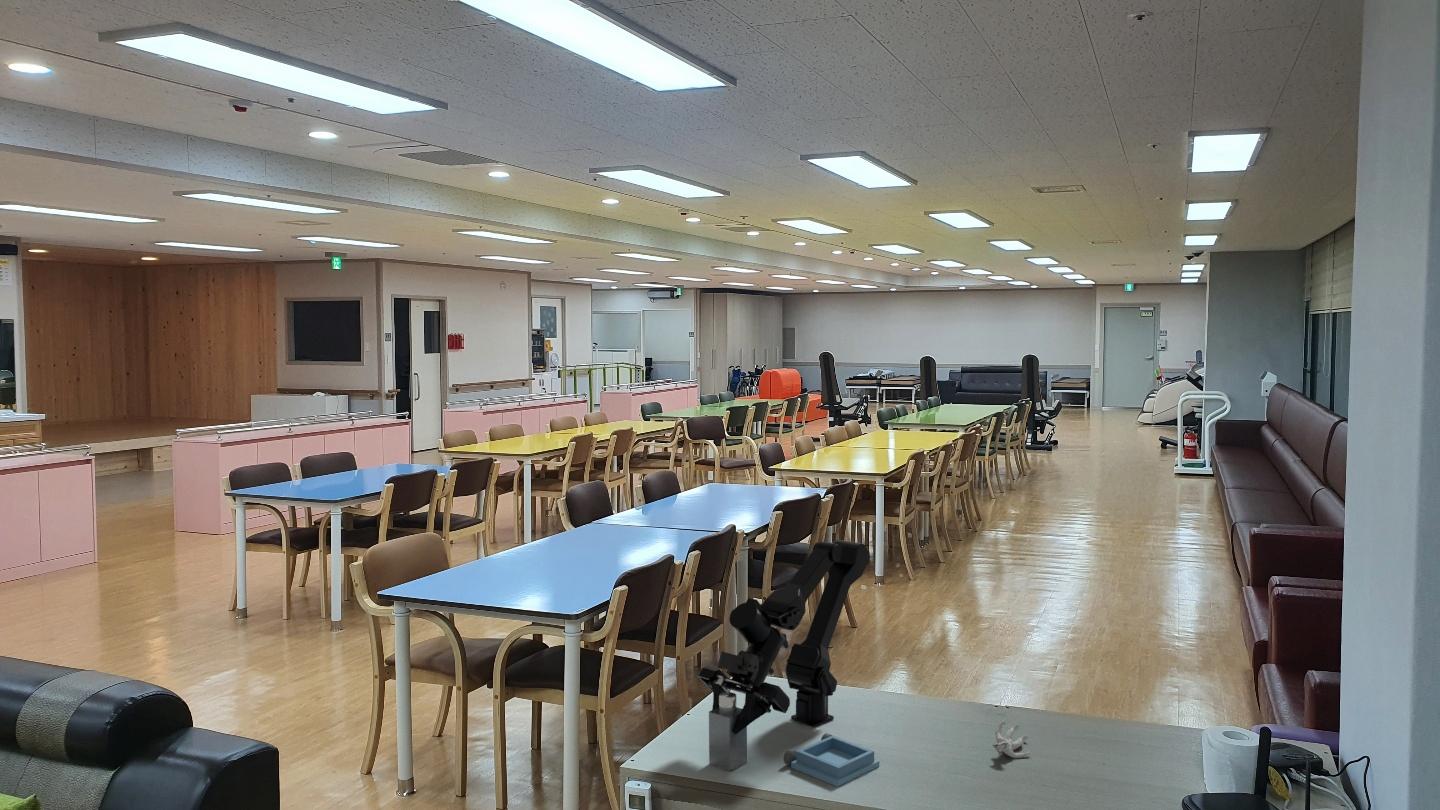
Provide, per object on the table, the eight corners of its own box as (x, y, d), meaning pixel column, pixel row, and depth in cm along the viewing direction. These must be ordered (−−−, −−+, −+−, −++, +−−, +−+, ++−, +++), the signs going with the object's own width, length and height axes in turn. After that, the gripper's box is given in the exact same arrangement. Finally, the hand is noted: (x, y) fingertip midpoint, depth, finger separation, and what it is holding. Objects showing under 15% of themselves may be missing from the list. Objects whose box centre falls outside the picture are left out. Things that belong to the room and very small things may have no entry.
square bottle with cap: (726, 755, 197) (726, 688, 196) (747, 762, 194) (746, 694, 193) (709, 763, 194) (708, 695, 193) (729, 771, 190) (729, 702, 189)
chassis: (830, 745, 202) (830, 730, 201) (881, 765, 193) (881, 749, 192) (783, 766, 192) (783, 750, 192) (834, 787, 184) (834, 771, 183)
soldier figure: (1039, 750, 201) (1030, 754, 191) (1019, 765, 202) (1009, 769, 192) (1012, 715, 205) (1002, 717, 194) (993, 730, 206) (982, 733, 195)
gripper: (703, 624, 201) (664, 696, 194) (780, 644, 189) (742, 721, 181) (730, 654, 208) (693, 724, 200) (806, 674, 195) (770, 750, 188)
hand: (723, 729), depth 192 cm, fingers closed on square bottle with cap, 5 cm apart
